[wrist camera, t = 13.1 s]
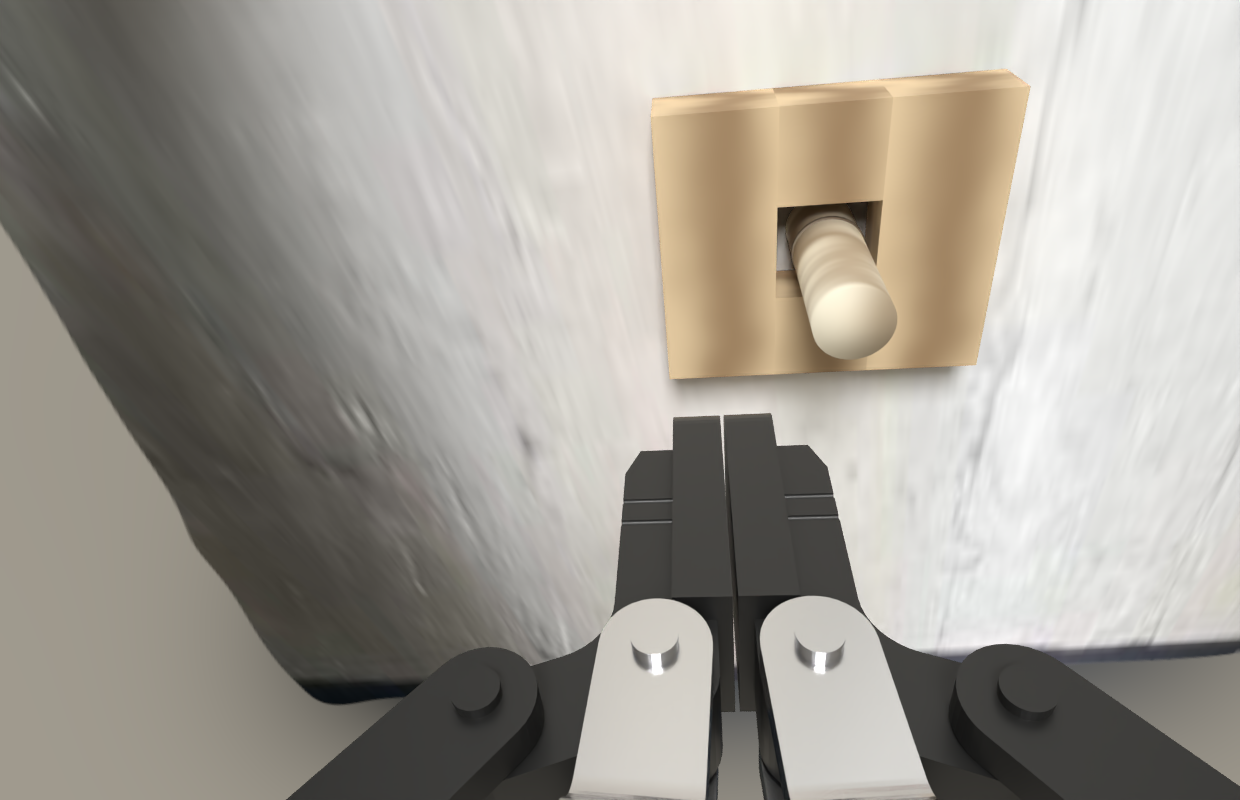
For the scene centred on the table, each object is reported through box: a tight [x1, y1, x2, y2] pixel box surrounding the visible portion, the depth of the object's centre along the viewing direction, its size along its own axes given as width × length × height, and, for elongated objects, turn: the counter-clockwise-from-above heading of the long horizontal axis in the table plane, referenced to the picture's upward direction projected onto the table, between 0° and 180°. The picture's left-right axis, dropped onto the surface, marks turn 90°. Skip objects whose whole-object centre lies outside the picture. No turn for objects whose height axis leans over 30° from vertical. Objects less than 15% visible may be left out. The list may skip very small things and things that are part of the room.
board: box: [651, 69, 1030, 379], centre depth 39 cm, size 16×14×3 cm
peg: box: [786, 203, 897, 360], centre depth 36 cm, size 4×4×10 cm
